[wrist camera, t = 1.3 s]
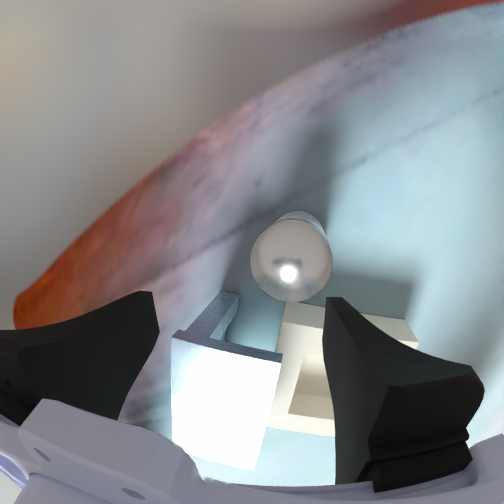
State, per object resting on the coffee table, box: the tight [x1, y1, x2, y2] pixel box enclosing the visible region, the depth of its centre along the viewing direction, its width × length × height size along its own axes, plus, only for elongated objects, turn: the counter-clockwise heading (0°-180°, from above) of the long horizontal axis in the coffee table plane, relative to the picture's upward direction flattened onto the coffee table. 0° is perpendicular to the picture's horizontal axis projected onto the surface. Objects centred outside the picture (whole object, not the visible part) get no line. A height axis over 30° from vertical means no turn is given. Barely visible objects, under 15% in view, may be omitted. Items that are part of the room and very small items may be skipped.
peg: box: [250, 211, 333, 302], centre depth 18 cm, size 4×4×8 cm
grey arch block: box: [171, 291, 283, 470], centre depth 20 cm, size 6×10×9 cm, turn 172°
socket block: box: [266, 302, 419, 436], centre depth 21 cm, size 10×10×4 cm
